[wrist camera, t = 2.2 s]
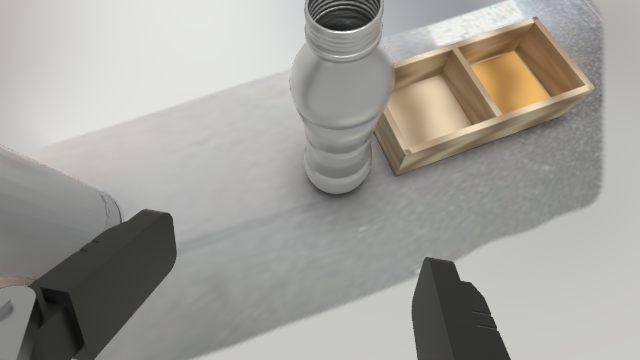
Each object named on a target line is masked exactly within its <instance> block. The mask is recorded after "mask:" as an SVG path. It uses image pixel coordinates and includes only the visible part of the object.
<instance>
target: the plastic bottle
mask: <svg viewBox="0 0 640 360" xmlns="http://www.w3.org/2000/svg"><path fill="white" fill-rule="evenodd" d="M383 2H384V1H383V0H306V2H305V18H306V25H305V36H306V43H305V44H304V45H303V47H302V48H301V49H300V51H299V52H298V54H297V55H296V58H295V60H294V62H293V66H292V70H291V74H290V80H289V81H290V90H291V93H292V97H293V100H294V103H295V106H296V108H297V110H298V113H299V115H300V117H301V119H302V122H303V124H304V128H305V132H306V136H307V137H306V148H305V154H304V168H305V172H306V174H307V176H308V178H309V179H310V180H311V182H312V183H313V184H314V185H315V186H316V187H317V188H319V189H320V190H322V191H324V192H327V193H331V194H341V193H346V192H349V191H351V190H353V189H355V188H356V187H357V186H359V185H360V184H361V183H362V182H363V180H364V179H365V178H366V177H367V175H368V173H369V171H370V169H371V165H372V149H371V139H372V135H373V132H374V129H375V126H376V124H377V122H378V120H379V118H380V116H381V114H382V113H383V111H384V109H385V107H386V106H387V104H388V102H389V100H390V97H391V95H392V93H393V89H394V86H395V70H394V64H393V59H392V56H391V54H390V52H389V50H388V49H387V47H386V46H385V45H384V43H383V42H382V41H381V40H380V39H381V35H382V27H383V25H382V15H383V10H384V4H383Z"/></svg>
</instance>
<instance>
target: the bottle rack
mask: <svg viewBox="0 0 640 360" xmlns="http://www.w3.org/2000/svg"><path fill="white" fill-rule="evenodd" d="M393 64H394V70H395V86H394V89H393V93H392V95H391V97H390V100H389V102H388V104H387V106H386V107H385V109H384V111H383V113H382V114H381V116H380V118H379V120H378V122H377V124H376V126H375V129H374V133H375V135H376V137H377V139H378V141H379V144H380V146H381V148H382V150H383V152H384V154H385V156H386V158H387V160H388V162H389V164H390V166H391V168H392V170H393V172H394V174H395V176H397V175H400V174H403V173H406V172H408V171H411V170H414V169H417V168H420V167H422V166H425V165H428V164H431V163H433V162H436V161H439V160H442V159H444V158H447V157H450V156H453V155H455V154H458V153H461V152H464V151H466V150H469V149H472V148H475V147H478V146H480V145H483V144H486V143H489V142H491V141H494V140H497V139H500V138H502V137H505V136H508V135H511V134H513V133H516V132H519V131H522V130H525V129H527V128H530V127H533V126H536V125H538V124H541V123H544V122H547V121H549V120H552V119H555V118H558V117H560V116H561V115H563V114H564V113H565V112H566V111H568V110H569V109H570V108H571V107H572V106H574V105H575V104H576V103H577V102H579V101H580V100H581V99H582V98H584V97H585V96H586V95H587V94H589V93H590V92H591V91H592V90H594V89H595V87H594V86H593V85H592V83H591V82H590V81H589V80H588V79H587V77H586V76H585V75H584V74H583V72H582V71H581V70H580V69H579V68H578V66H577V65H576V64H575V63H574V62H573V60H572V59H571V58H570V57H569V55H568V54H567V53H566V52H565V51H564V49H563V48H562V47H561V46H560V45H559V43H558V42H557V41H556V40H555V38H554V37H553V36H552V35H551V34H550V32H549V31H548V30H547V29H546V28H545V26H544V25H543V24H542V23H541V21H540V20H539V19H538V18H537V17H533V18H530V19H527V20H524V21H521V22H518V23H515V24H512V25H509V26H506V27H503V28H500V29H497V30H494V31H491V32H488V33H485V34H481V35H478V36H475V37H472V38H469V39H466V40H463V41H460V42H457V43H454V44H451V45H448V46H445V47H442V48H439V49H436V50H433V51H430V52H427V53H424V54H421V55H418V56H414V57H411V58H408V59H405V60H402V61H399V62H396V63H393Z"/></svg>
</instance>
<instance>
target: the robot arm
mask: <svg viewBox="0 0 640 360" xmlns="http://www.w3.org/2000/svg"><path fill="white" fill-rule="evenodd" d="M176 254H177V252H176V243H175V235H174V226H173V219H172V216H171V215H170V214H169V213H166V212H160V211H154V210H148V209H144V210H142V211H140V212H139V213H138V214H136V215H135V216H133V217H132V218H131V219H129V220H128V221H127V222H123V223H121V224H120V214H119V210H118V207H117V205H116V204H115V202H114V201H113V200H112V199H111V198H110V197H109V196H108V195H107V194H105V193H103V192H101V191H99V190H97V189H95V188H93V187H91V186H88V185H86V184H84V183H82V182H80V181H78V180H76V179H74V178H72V177H69V176H67V175H65V174H63V173H61V172H59V171H57V170H54V169H52V168H50V167H48V166H46V165H44V164H41V163H39V162H37V161H35V160H33V159H31V158H28V157H26V156H24V155H22V154H20V153H18V152H15V151H13V150H11V149H9V148H7V147H5V146H3V145H0V276H3V277H17V278H32V279H37V280H36V281H34V282H33V283H32V284H30V285H29V286H27V287H26V286H9V287H3V288H0V360H71V359H72V358H73V359H77V360H94V359H95V358H96V357H97V355H98V354H99V353H100V352H101V351H102V350H103V348H104V347H105V346H106V345H107V344H108V343H109V342H110V340H111V339H112V338H113V337H114V336H115V335H116V333H117V332H118V331H119V330H120V329H121V328H122V327H123V325H124V324H125V323H126V322H127V321H128V320H129V318H130V317H131V316H132V315H133V314H134V313H135V312H136V310H137V309H138V308H139V307H140V306H141V305H142V303H143V302H144V301H145V300H146V299H147V298H148V297H149V295H150V294H151V293H152V292H153V291H154V290H155V288H156V287H157V286H158V285H159V284H160V283H161V282H162V280H163V279H164V278H165V277H166V276H167V275H168V273H169V272H170V271H171V270H172V268H173V266H174V263H175V260H176ZM412 321H413V329H414V336H415V342H416V350H417V357H418V360H511V359H510V357H509V355H508V352H507V350H506V347H505V345H504V343H503V340H502V338H501V336H500V333H499V331H497V326H496V324H495V322H494V319H493V317H491V313H490V310H489V308H488V305H487V303H486V301H485V298H484V297H483V296H482V295H481V293H480V292H479V291H478V290H477V289H476V288H475V287H474V286H473V285H472V283H470V282H464V281H460V278H459V275H458V272H457V270H456V267H455V264H454V263H453V262H452V261H447V260H441V259H435V258H429V257H426V258H425V259H424V261H423V265H422V268H421V272H420V275H419V278H418V282H417V285H416V289H415V292H414V296H413V301H412Z"/></svg>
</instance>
